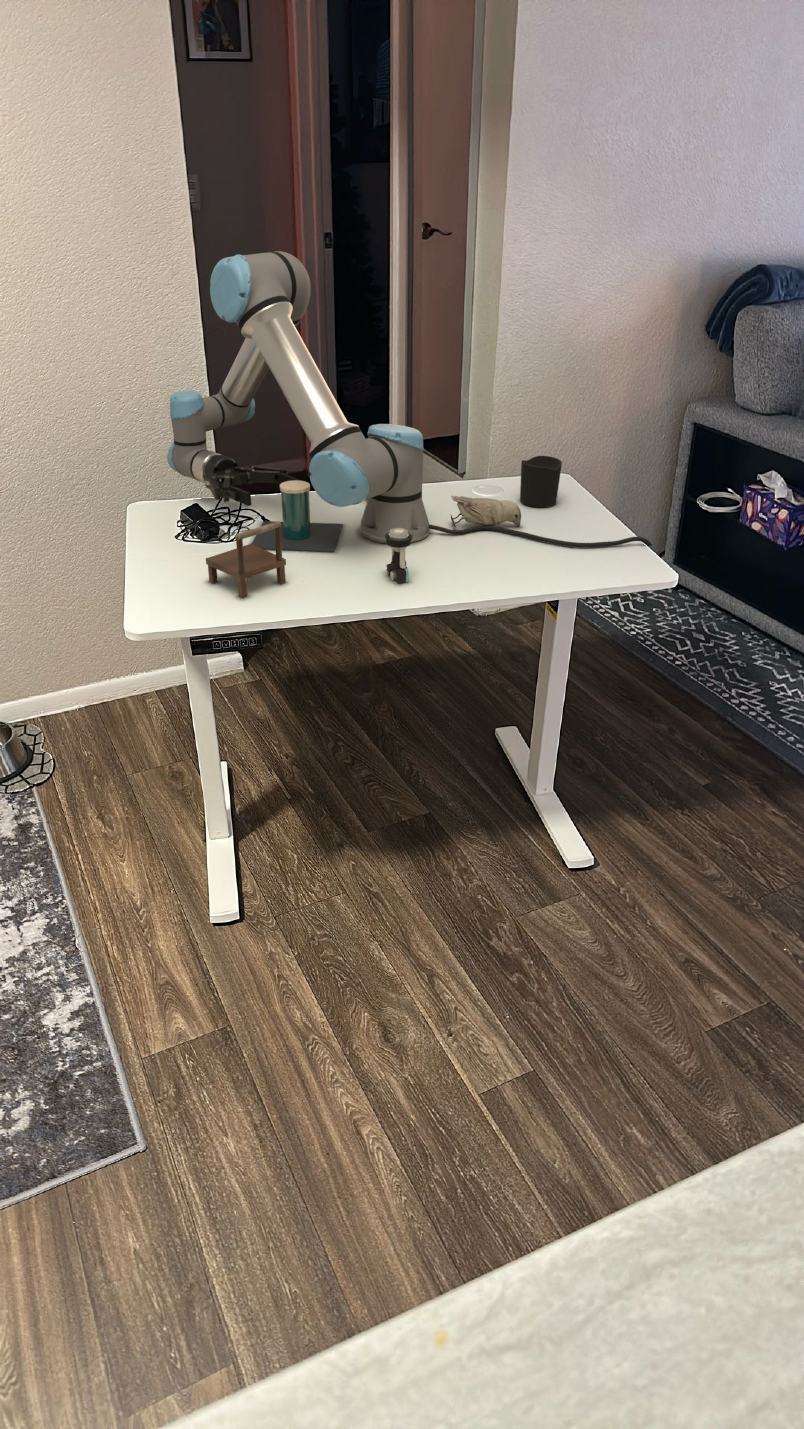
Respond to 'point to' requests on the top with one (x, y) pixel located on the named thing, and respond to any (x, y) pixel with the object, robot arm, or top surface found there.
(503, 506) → the decorative bird
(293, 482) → the canister
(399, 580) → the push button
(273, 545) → the mat
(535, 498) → the pen holder
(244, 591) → the miniature wooden chair
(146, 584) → the top surface
